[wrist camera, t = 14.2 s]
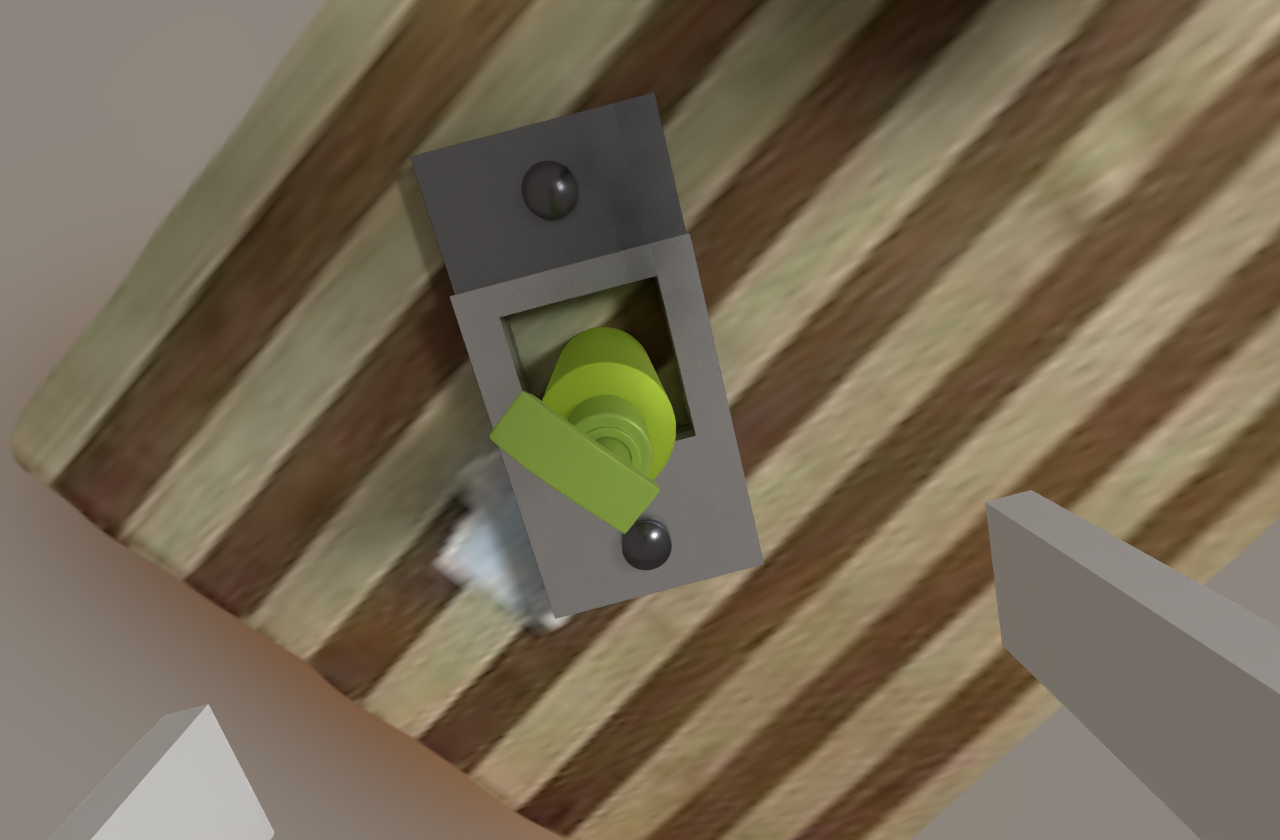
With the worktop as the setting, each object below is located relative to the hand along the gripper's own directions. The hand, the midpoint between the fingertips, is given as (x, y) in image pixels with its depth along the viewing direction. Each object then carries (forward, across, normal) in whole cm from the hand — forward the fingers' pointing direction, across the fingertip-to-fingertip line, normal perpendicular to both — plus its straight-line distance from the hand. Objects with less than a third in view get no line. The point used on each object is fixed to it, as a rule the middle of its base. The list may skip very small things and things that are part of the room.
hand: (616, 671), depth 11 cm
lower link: (+30, 0, +4) cm, 30 cm away
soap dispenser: (+30, 0, 0) cm, 30 cm away
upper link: (+30, 0, -4) cm, 30 cm away
